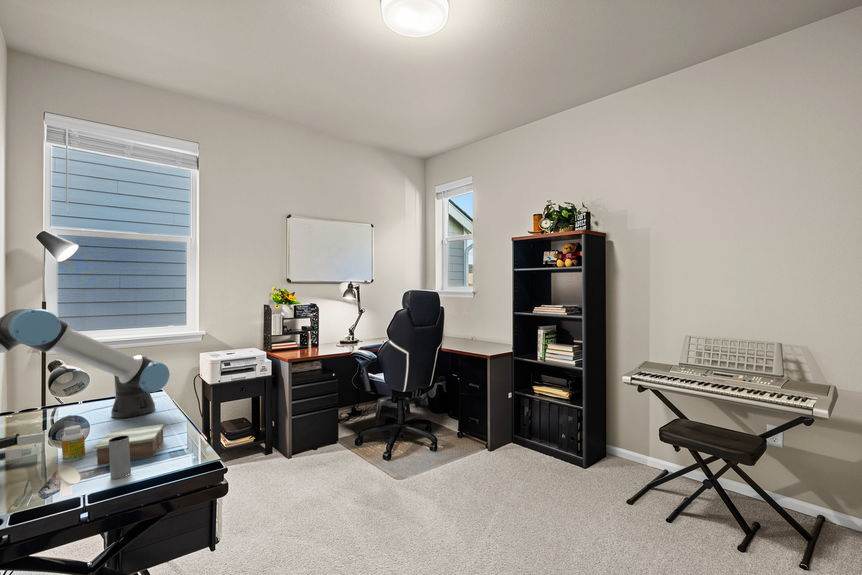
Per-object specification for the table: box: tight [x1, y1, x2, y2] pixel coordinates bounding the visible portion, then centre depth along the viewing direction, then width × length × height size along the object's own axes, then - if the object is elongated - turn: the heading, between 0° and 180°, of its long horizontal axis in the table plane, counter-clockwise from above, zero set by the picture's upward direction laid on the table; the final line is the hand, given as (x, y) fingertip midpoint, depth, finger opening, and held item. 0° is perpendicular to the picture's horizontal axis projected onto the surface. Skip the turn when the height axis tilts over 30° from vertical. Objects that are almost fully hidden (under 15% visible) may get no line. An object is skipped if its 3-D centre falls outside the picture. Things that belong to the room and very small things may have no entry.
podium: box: [93, 423, 165, 466], centre depth 136 cm, size 15×15×6 cm
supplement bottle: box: [61, 424, 86, 463], centre depth 133 cm, size 5×5×10 cm
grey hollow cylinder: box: [109, 435, 132, 480], centre depth 119 cm, size 4×4×10 cm
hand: (33, 444), depth 130 cm, fingers open, 13 cm apart
